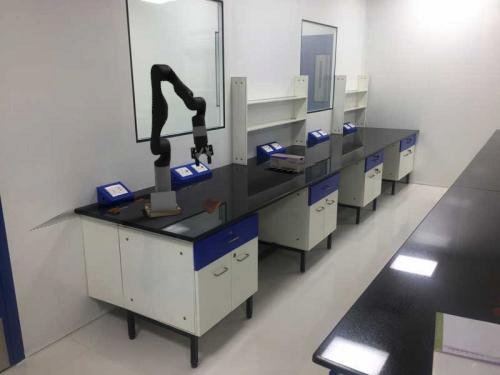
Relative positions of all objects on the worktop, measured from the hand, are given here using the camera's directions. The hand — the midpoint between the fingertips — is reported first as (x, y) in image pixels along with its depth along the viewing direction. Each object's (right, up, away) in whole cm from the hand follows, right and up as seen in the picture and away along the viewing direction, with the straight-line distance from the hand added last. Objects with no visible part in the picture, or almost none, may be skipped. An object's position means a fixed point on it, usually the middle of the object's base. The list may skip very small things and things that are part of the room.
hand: (203, 165), depth 228 cm
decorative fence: (-40, -24, +1) cm, 47 cm away
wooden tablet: (+3, -23, +3) cm, 24 cm away
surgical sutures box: (+53, +1, +97) cm, 111 cm away
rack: (-20, -26, -10) cm, 34 cm away
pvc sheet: (-18, -25, -14) cm, 34 cm away
